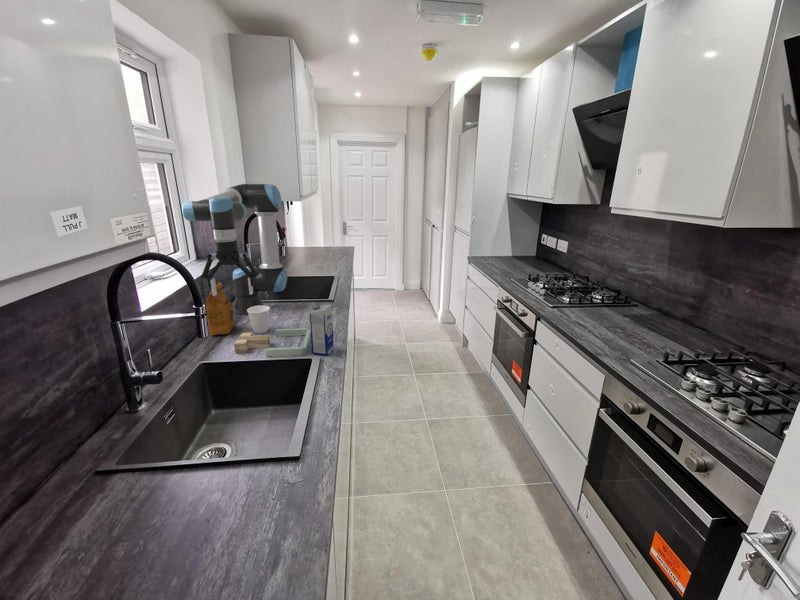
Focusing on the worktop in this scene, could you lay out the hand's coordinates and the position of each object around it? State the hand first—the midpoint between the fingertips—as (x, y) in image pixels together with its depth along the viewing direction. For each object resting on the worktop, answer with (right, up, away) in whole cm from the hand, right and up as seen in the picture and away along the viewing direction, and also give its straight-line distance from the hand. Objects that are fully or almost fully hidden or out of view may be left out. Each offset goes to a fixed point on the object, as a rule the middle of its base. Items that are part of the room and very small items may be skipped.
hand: (233, 294), depth 140 cm
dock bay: (+18, -21, +12) cm, 30 cm away
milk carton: (+34, -24, +6) cm, 42 cm away
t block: (+4, -22, +10) cm, 24 cm away
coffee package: (-16, -17, +25) cm, 34 cm away
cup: (+1, -17, +25) cm, 30 cm away
